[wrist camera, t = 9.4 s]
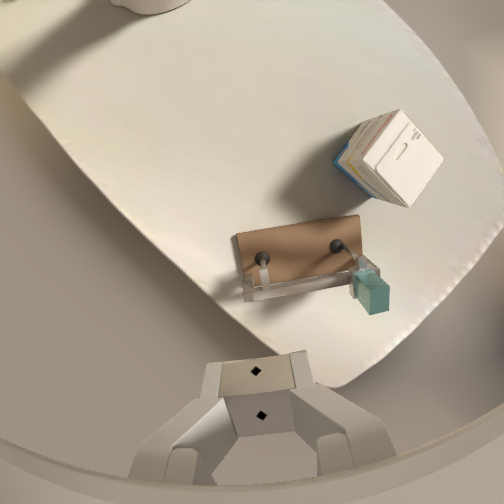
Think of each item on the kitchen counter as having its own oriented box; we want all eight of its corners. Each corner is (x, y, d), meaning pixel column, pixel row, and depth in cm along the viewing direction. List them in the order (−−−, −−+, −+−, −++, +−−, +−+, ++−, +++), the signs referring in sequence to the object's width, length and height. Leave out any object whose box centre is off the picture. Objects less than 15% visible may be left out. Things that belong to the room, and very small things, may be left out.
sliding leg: (333, 243, 41) (366, 276, 28) (352, 239, 41) (392, 271, 28) (336, 275, 42) (367, 318, 29) (354, 271, 42) (391, 312, 29)
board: (237, 233, 42) (233, 248, 34) (356, 214, 41) (378, 225, 33) (247, 284, 44) (245, 308, 37) (360, 264, 43) (380, 284, 36)
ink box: (372, 199, 40) (410, 211, 29) (330, 162, 39) (359, 161, 28) (402, 157, 38) (446, 158, 27) (363, 119, 37) (400, 106, 26)
